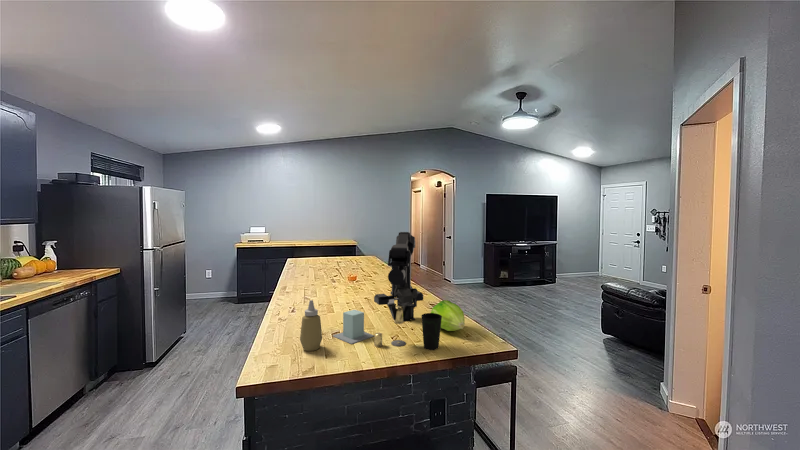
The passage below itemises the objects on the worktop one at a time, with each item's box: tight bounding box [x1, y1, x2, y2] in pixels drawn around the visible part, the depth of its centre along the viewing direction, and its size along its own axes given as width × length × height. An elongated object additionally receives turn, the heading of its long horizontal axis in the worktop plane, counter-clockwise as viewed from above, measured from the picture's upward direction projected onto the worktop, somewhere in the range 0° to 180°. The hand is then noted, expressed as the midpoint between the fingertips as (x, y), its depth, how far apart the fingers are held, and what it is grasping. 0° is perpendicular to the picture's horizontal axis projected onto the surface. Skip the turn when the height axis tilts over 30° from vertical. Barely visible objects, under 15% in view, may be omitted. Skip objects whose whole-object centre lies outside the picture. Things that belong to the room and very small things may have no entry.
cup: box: [420, 312, 442, 351], centre depth 130 cm, size 8×8×12 cm
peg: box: [393, 305, 404, 325], centre depth 133 cm, size 3×3×6 cm
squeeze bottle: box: [299, 299, 323, 352], centre depth 128 cm, size 8×8×18 cm
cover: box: [342, 309, 365, 339], centre depth 141 cm, size 6×6×10 cm
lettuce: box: [430, 299, 465, 332], centre depth 148 cm, size 14×20×12 cm
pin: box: [373, 332, 383, 348], centre depth 131 cm, size 3×3×4 cm
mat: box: [332, 331, 374, 345], centre depth 141 cm, size 12×12×1 cm
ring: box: [390, 339, 407, 347], centre depth 134 cm, size 6×6×1 cm
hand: (398, 319), depth 134 cm, fingers closed on peg, 3 cm apart
